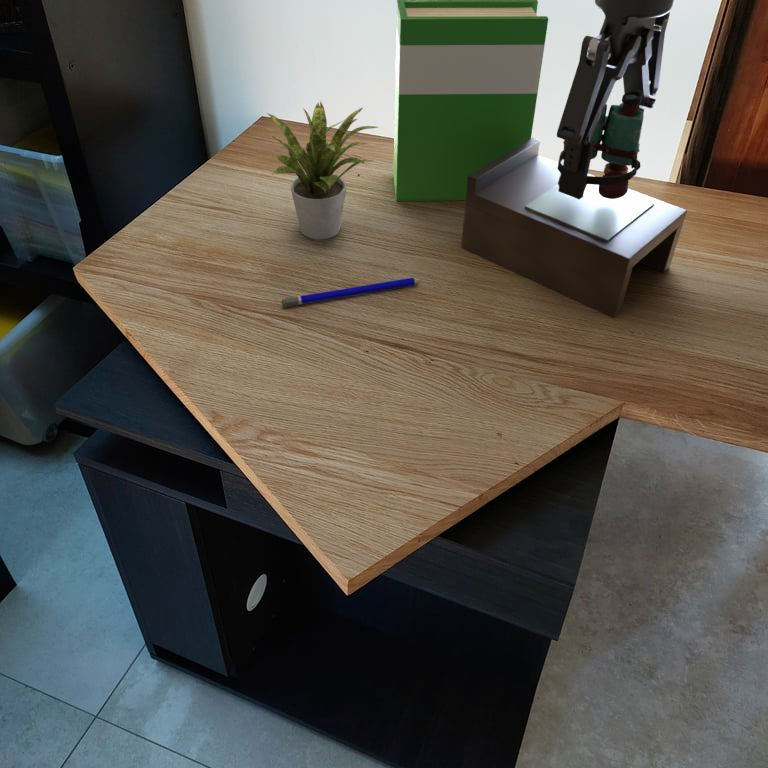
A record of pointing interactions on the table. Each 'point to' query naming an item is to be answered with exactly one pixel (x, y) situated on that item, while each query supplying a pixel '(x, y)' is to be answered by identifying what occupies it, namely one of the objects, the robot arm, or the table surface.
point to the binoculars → (616, 145)
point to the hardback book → (462, 90)
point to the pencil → (349, 291)
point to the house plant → (318, 173)
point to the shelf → (565, 229)
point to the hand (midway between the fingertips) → (595, 176)
